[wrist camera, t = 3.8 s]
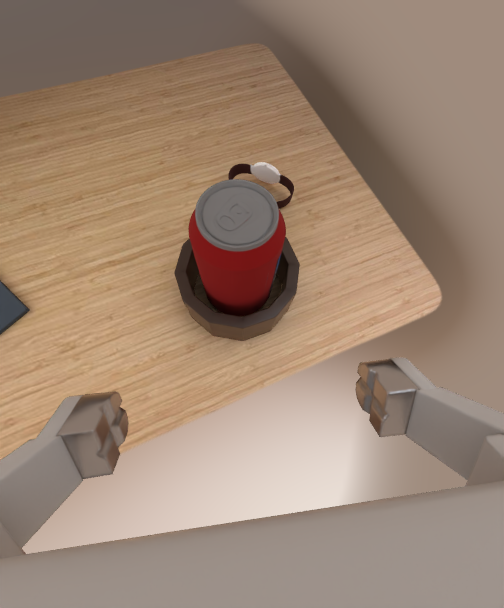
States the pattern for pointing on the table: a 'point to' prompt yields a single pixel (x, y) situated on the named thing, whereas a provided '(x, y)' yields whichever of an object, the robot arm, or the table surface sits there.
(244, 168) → the watch
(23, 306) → the mat
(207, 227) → the beverage can
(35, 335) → the table surface
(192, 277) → the faceted ring
